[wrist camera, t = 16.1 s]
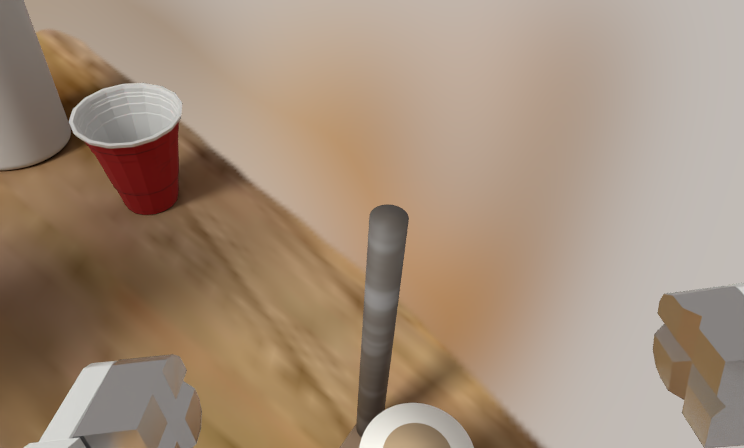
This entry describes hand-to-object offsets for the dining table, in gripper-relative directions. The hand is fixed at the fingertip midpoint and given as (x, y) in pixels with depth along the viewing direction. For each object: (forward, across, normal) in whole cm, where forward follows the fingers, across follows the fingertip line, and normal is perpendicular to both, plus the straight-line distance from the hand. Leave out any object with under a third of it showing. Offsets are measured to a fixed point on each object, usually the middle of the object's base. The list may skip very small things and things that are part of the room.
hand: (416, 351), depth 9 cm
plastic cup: (+49, -29, -19) cm, 60 cm away
